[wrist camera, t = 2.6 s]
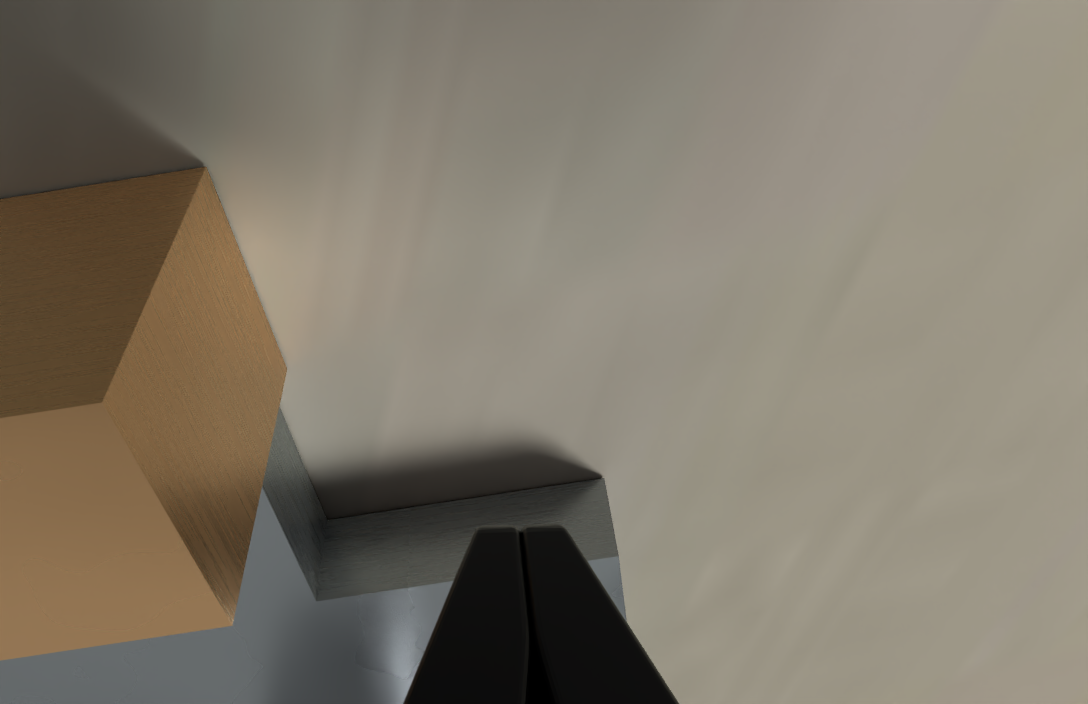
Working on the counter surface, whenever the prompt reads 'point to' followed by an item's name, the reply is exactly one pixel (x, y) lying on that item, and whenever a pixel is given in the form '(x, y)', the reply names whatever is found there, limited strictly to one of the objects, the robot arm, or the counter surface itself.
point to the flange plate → (195, 480)
